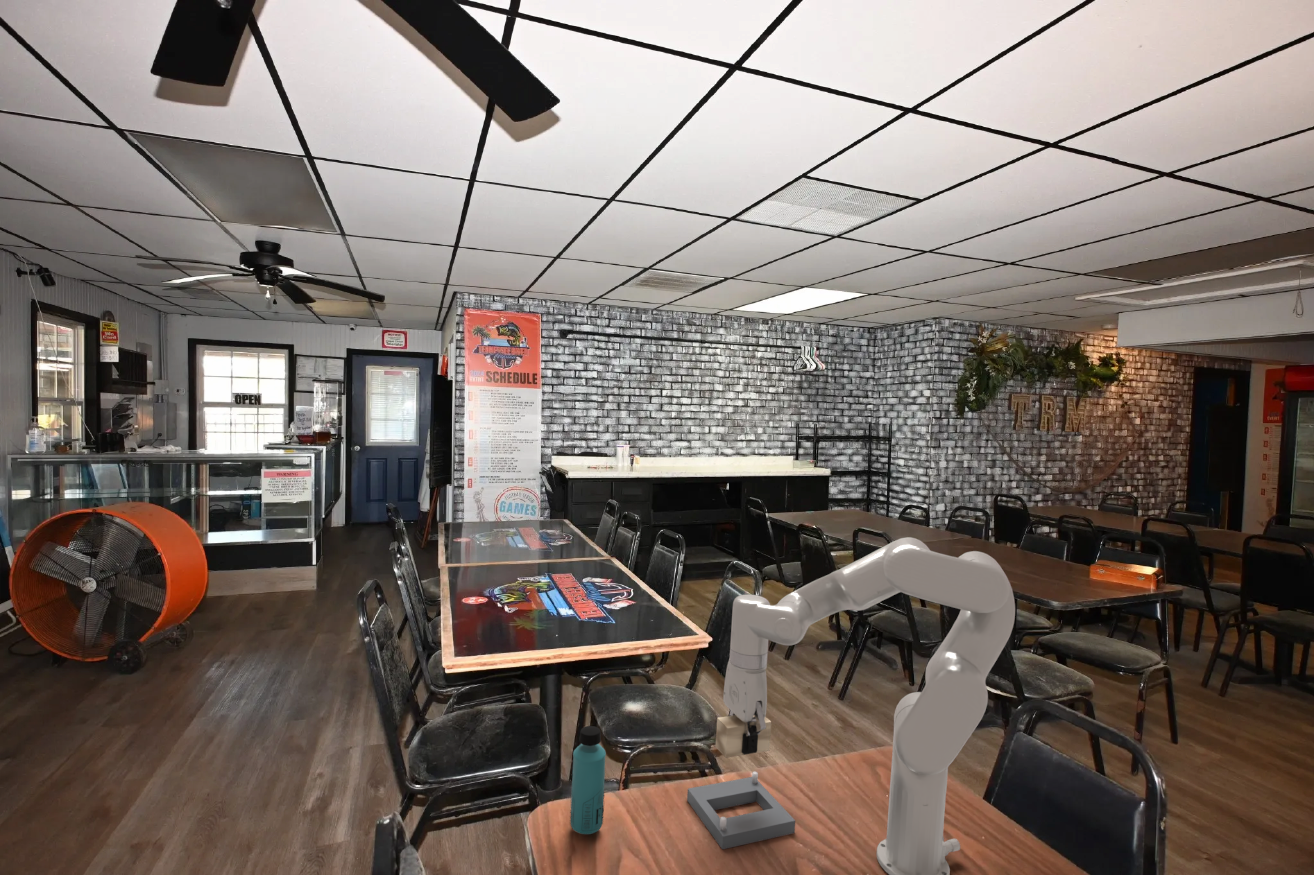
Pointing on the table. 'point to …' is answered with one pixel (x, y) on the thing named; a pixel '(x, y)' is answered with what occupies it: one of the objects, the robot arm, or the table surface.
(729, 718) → the key block
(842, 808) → the table surface
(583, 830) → the beverage bottle
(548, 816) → the table surface
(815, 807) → the table surface
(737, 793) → the slot board
